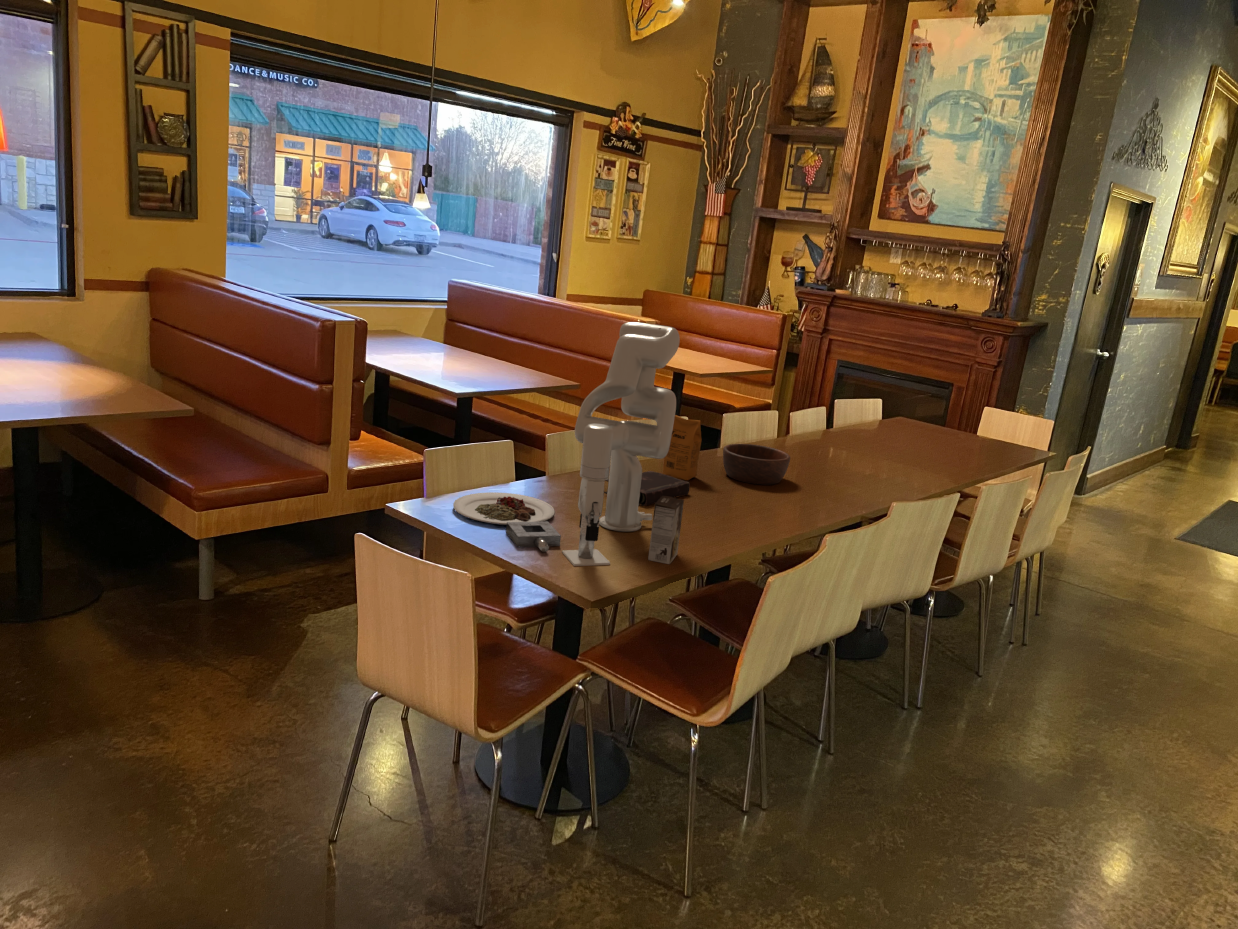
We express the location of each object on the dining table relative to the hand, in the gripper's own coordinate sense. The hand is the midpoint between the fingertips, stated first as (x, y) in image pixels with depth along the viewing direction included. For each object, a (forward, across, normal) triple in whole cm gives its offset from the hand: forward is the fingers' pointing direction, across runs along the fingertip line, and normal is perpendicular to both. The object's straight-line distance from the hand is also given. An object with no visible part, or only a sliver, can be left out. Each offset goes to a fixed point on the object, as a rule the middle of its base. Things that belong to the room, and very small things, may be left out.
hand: (588, 534), depth 248 cm
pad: (+7, 0, 0) cm, 7 cm away
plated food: (+7, -37, -19) cm, 42 cm away
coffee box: (+7, -3, +22) cm, 23 cm away
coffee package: (+7, -89, +49) cm, 102 cm away
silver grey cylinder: (+6, 0, 0) cm, 6 cm away
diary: (+7, -64, +31) cm, 72 cm away
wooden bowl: (+7, -92, +79) cm, 122 cm away
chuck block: (+7, -12, -12) cm, 18 cm away
